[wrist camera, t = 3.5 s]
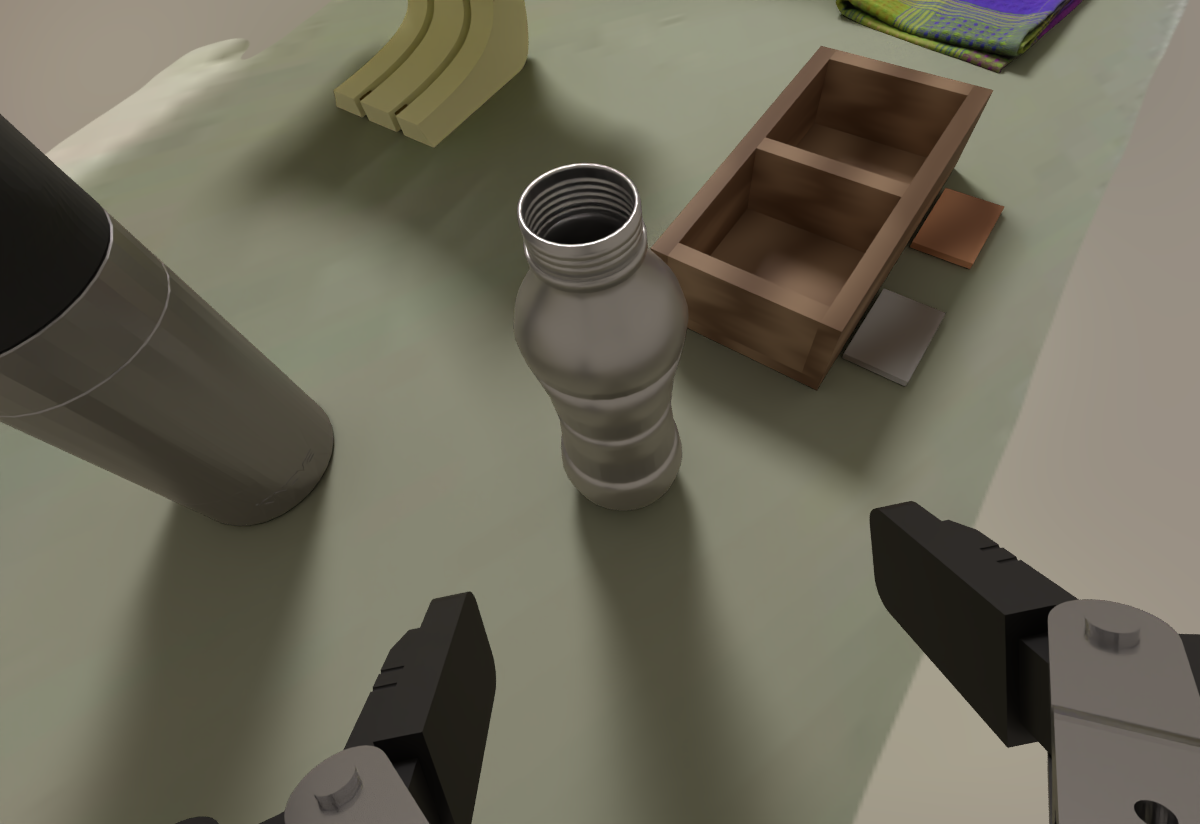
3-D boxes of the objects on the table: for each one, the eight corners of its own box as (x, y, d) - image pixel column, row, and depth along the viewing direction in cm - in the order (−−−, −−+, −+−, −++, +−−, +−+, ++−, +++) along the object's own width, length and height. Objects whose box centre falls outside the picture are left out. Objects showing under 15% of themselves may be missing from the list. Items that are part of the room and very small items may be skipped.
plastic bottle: (588, 410, 37) (512, 121, 19) (693, 435, 35) (715, 143, 18) (553, 504, 34) (428, 266, 16) (666, 535, 32) (660, 308, 15)
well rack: (653, 311, 40) (650, 248, 35) (804, 121, 47) (821, 45, 42) (885, 423, 34) (923, 367, 29) (1015, 186, 42) (1064, 108, 36)
